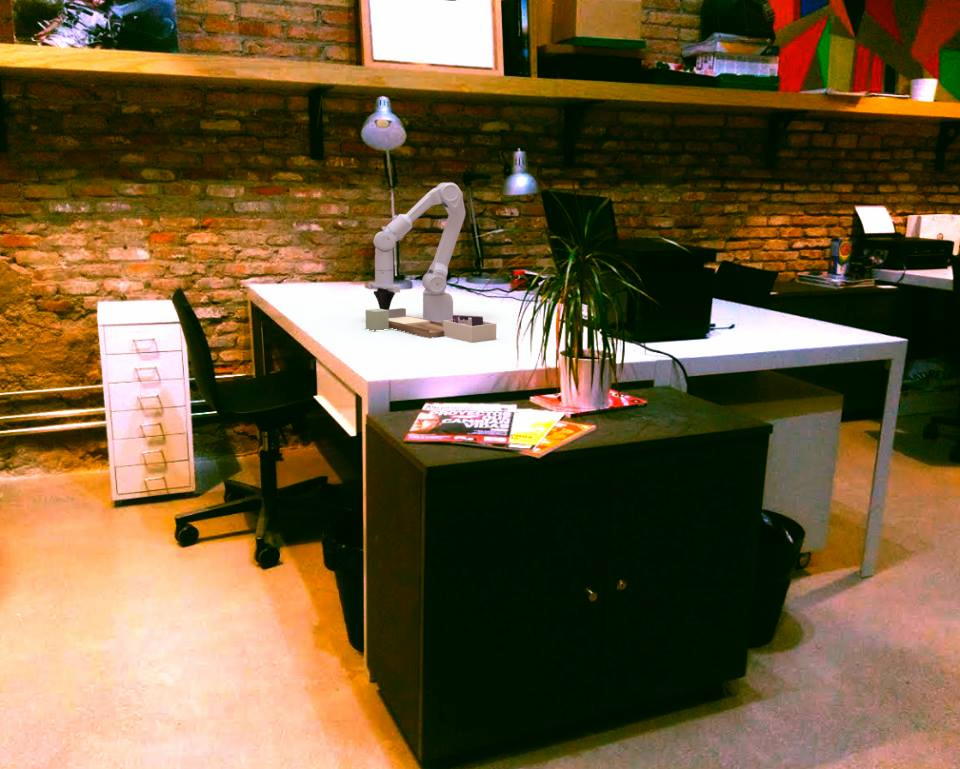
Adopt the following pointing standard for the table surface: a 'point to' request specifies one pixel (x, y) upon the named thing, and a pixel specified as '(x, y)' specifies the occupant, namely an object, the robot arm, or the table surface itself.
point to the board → (420, 328)
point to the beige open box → (469, 330)
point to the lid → (404, 317)
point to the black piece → (475, 319)
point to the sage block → (377, 319)
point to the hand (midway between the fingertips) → (384, 313)
